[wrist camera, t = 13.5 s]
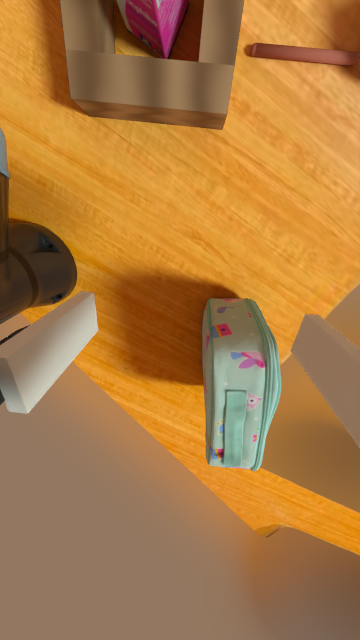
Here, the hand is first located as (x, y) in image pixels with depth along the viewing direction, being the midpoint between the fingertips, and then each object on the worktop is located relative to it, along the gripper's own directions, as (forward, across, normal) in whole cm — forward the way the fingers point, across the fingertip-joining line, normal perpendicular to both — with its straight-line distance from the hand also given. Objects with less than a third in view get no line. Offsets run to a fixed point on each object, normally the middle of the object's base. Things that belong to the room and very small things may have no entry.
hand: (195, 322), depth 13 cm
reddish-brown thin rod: (+27, +10, +24) cm, 38 cm away
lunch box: (+27, +9, -20) cm, 34 cm away
